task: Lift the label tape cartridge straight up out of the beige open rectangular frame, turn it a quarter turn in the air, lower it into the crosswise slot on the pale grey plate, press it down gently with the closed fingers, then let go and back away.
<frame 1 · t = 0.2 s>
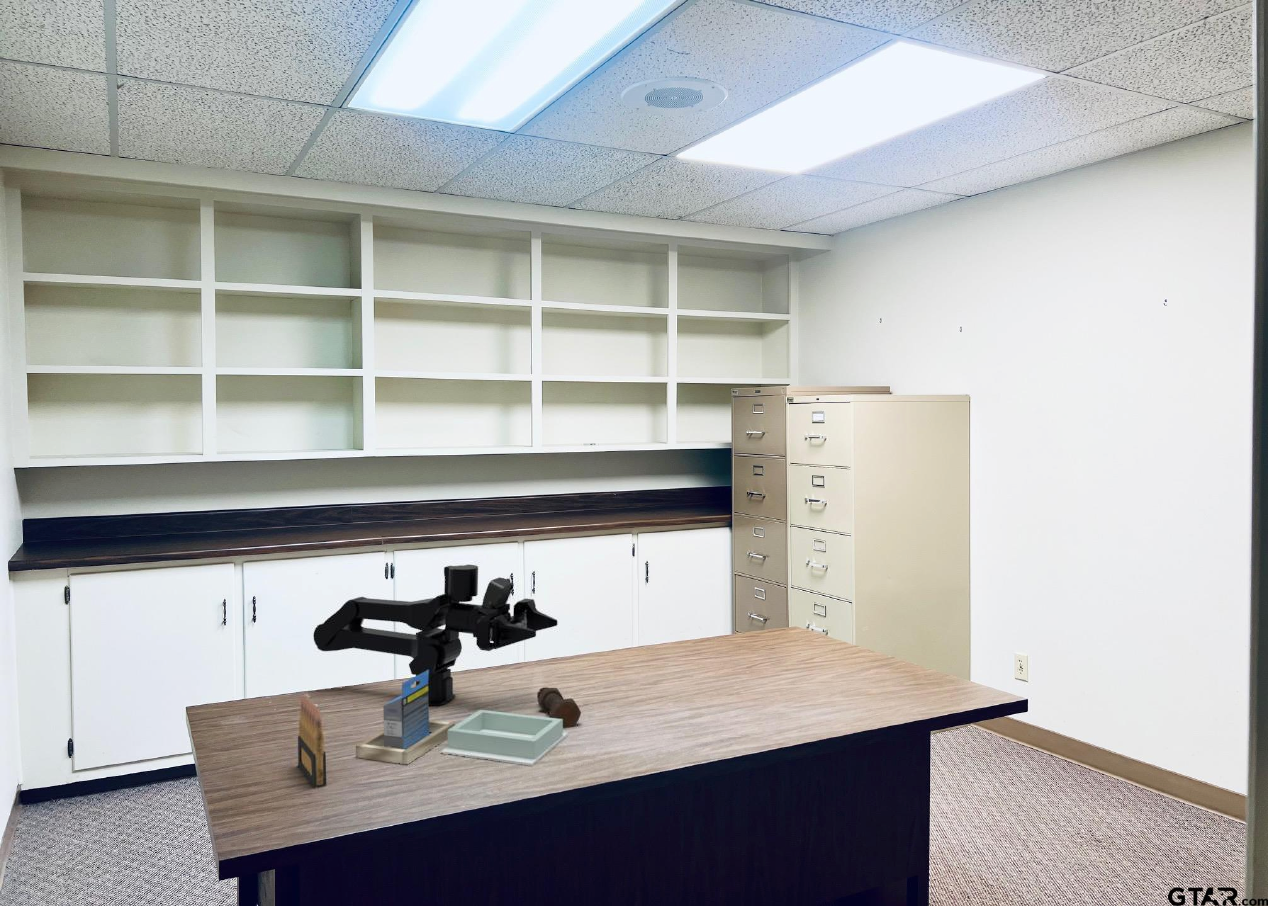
hand: (546, 628, 167), 17 cm above the table, tool horizontal, fingers open, 9 cm apart
slot plate: (506, 744, 152), on the table
bolt: (555, 717, 168), on the table
label tape cartridge: (407, 746, 152), resting in beige open rectangular frame
beige open rectangular frame: (407, 745, 152), on the table
ammunition clip: (311, 776, 139), on the table
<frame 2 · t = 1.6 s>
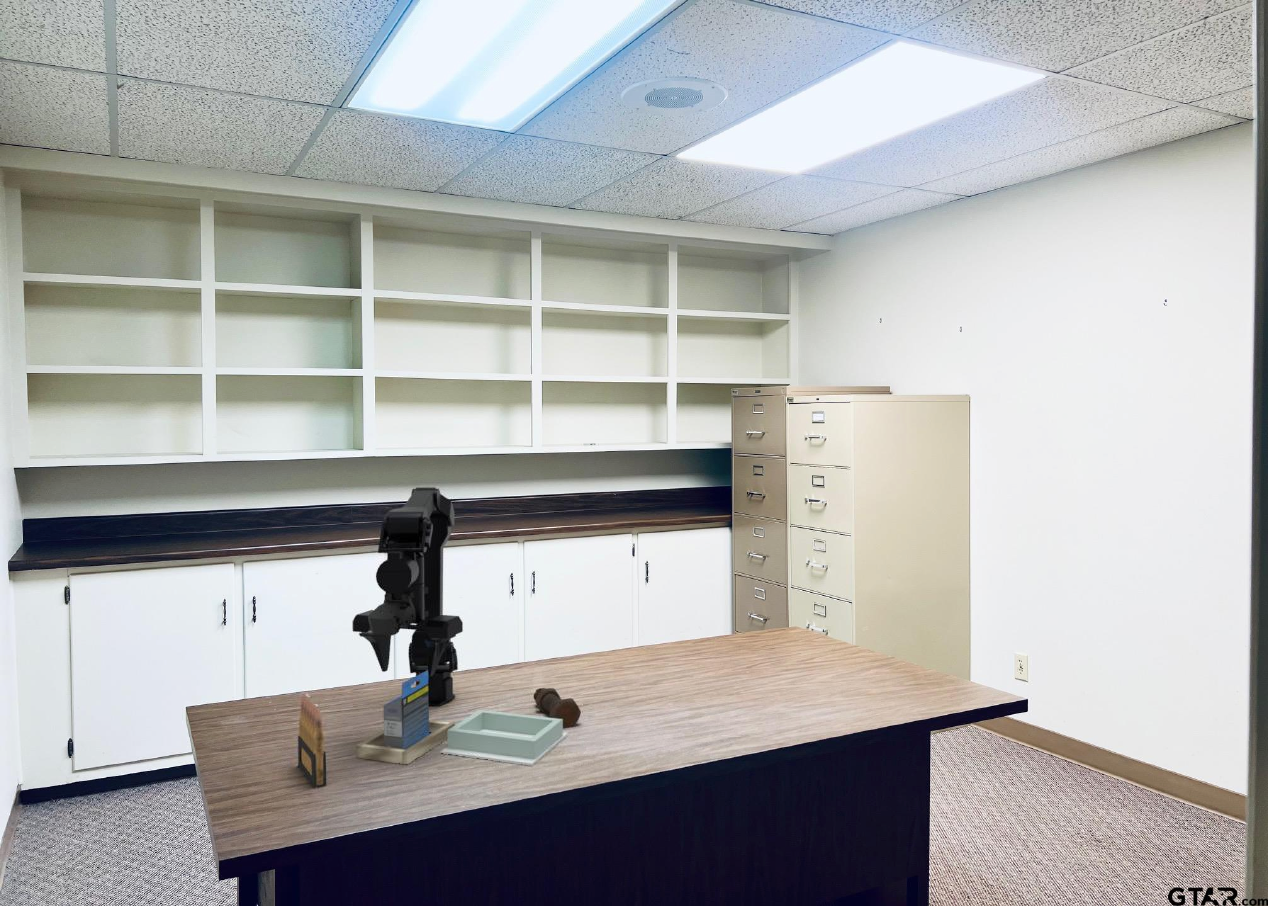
hand: (407, 673, 151), 13 cm above the table, tool pointing down, fingers open, 9 cm apart
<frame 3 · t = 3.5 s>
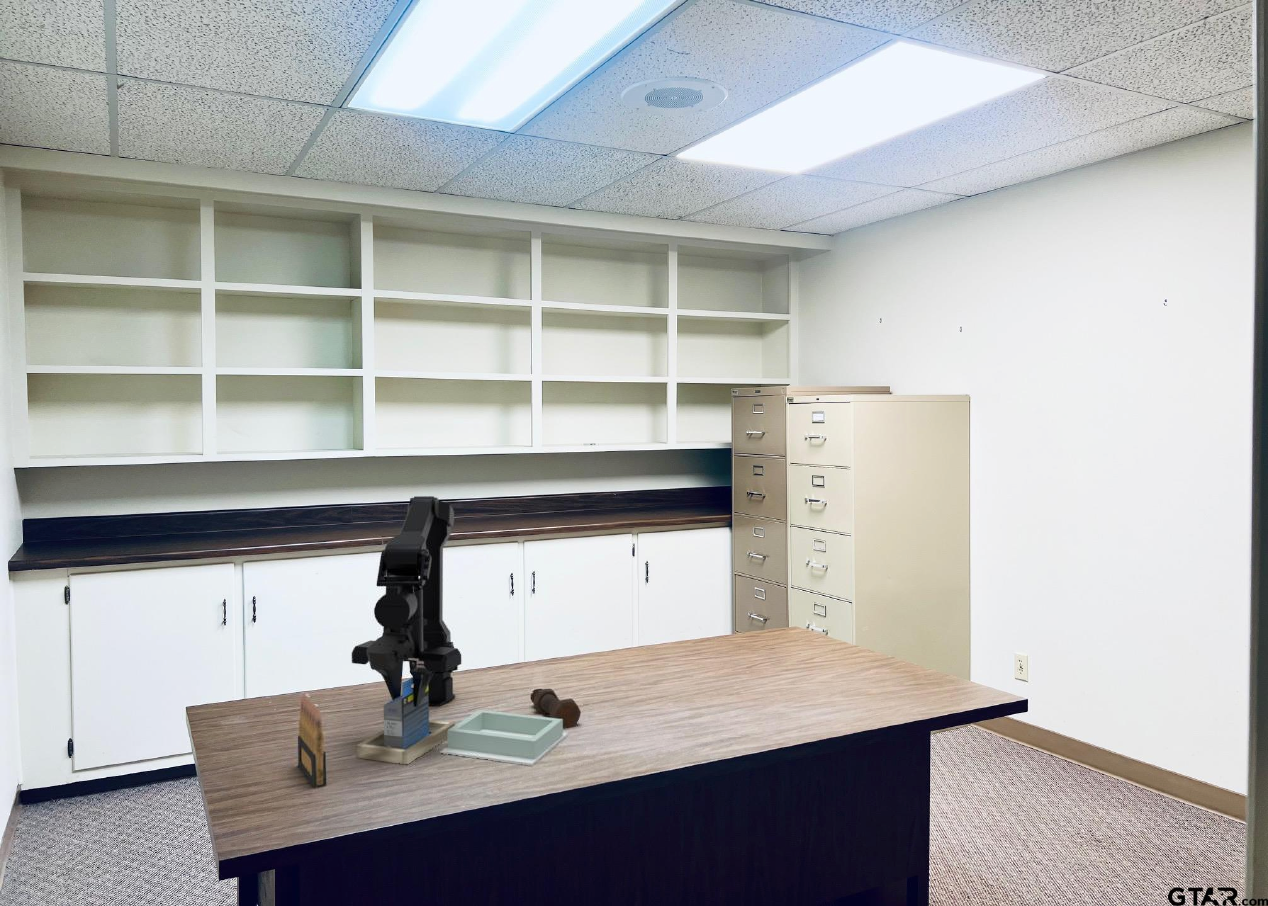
hand: (406, 705, 152), 7 cm above the table, tool pointing down, fingers closed on label tape cartridge, 4 cm apart
label tape cartridge: (407, 746, 152), resting in beige open rectangular frame, touching gripper
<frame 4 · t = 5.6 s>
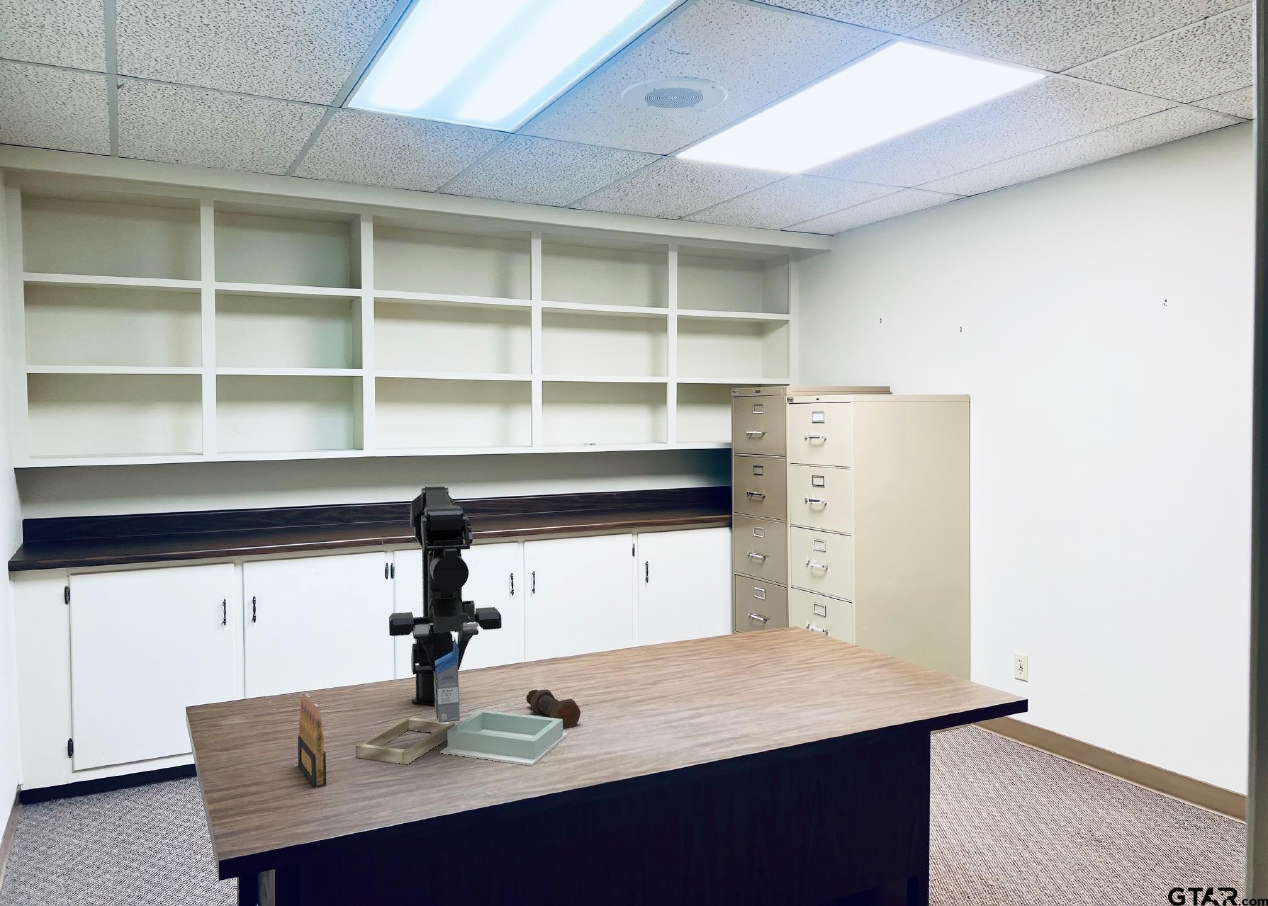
hand: (445, 670, 151), 13 cm above the table, tool pointing down, fingers closed on label tape cartridge, 4 cm apart
label tape cartridge: (447, 715, 152), point 5 cm above the table, touching gripper
when the fingers open (9 cm above the table, at t = 7.7 s): label tape cartridge stays where it is, resting on slot plate.
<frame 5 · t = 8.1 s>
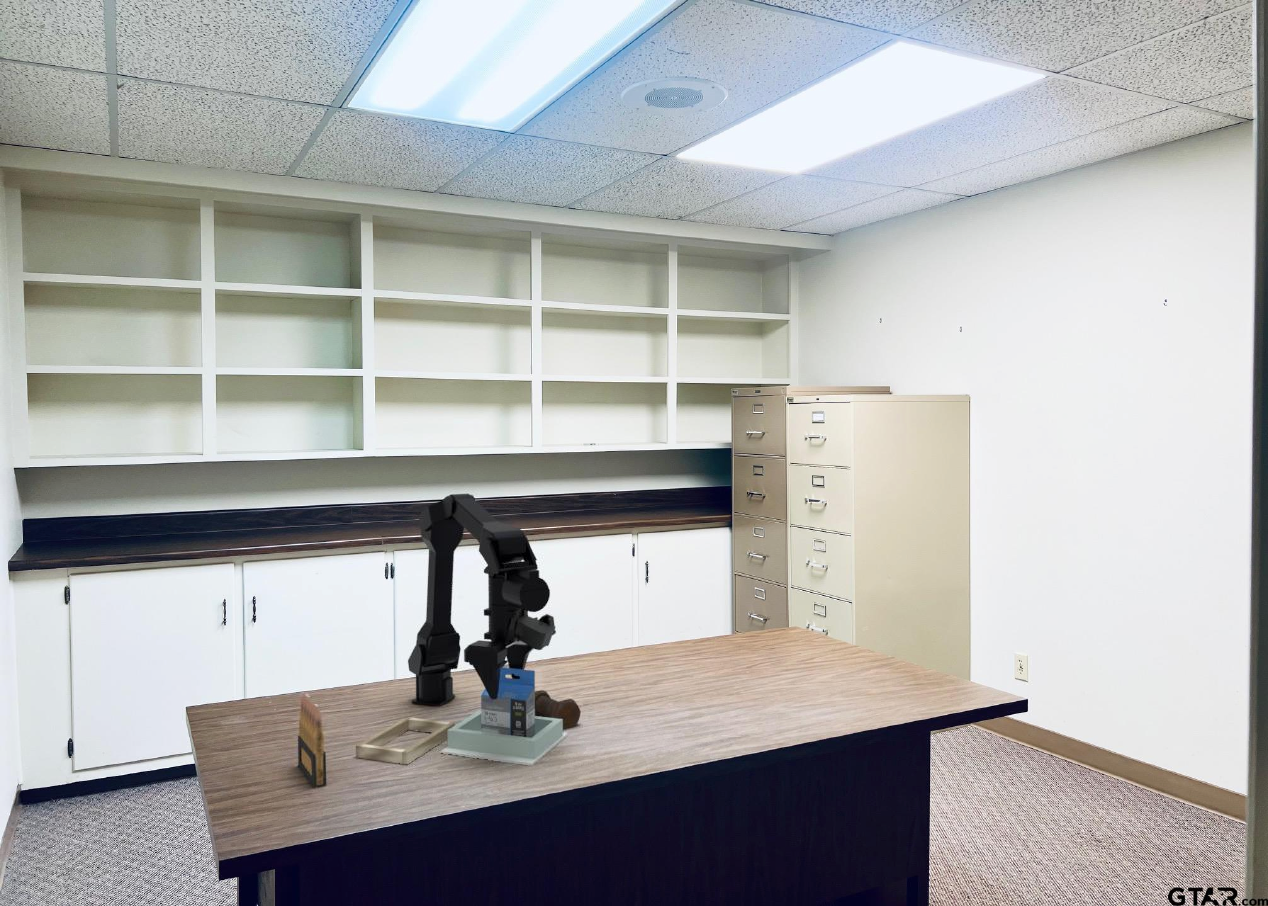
hand: (505, 691, 152), 9 cm above the table, tool pointing down, fingers open, 8 cm apart
label tape cartridge: (508, 742, 152), resting on slot plate
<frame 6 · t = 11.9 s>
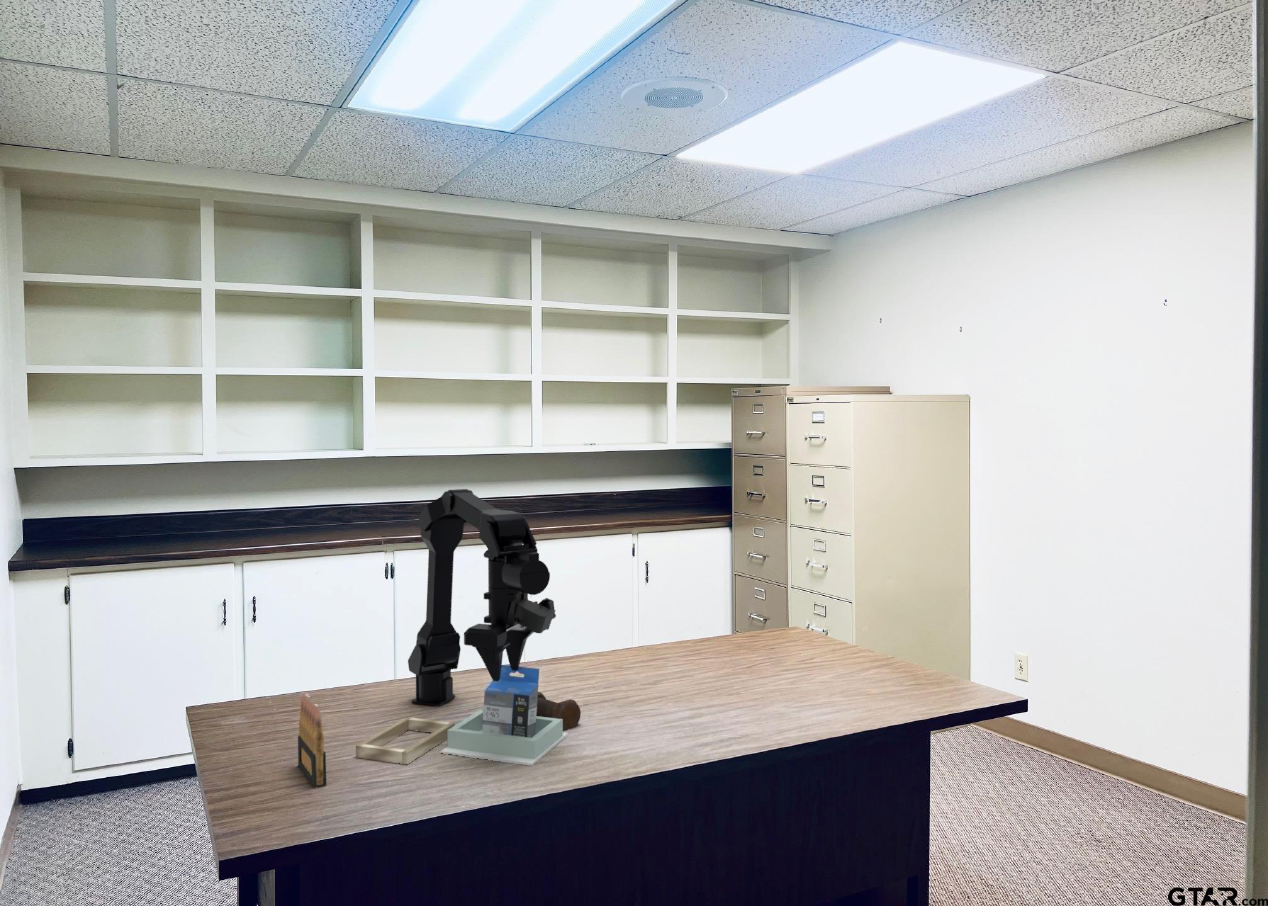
hand: (505, 675, 152), 12 cm above the table, tool pointing down, fingers open, 6 cm apart
label tape cartridge: (508, 741, 152), resting on slot plate, touching gripper
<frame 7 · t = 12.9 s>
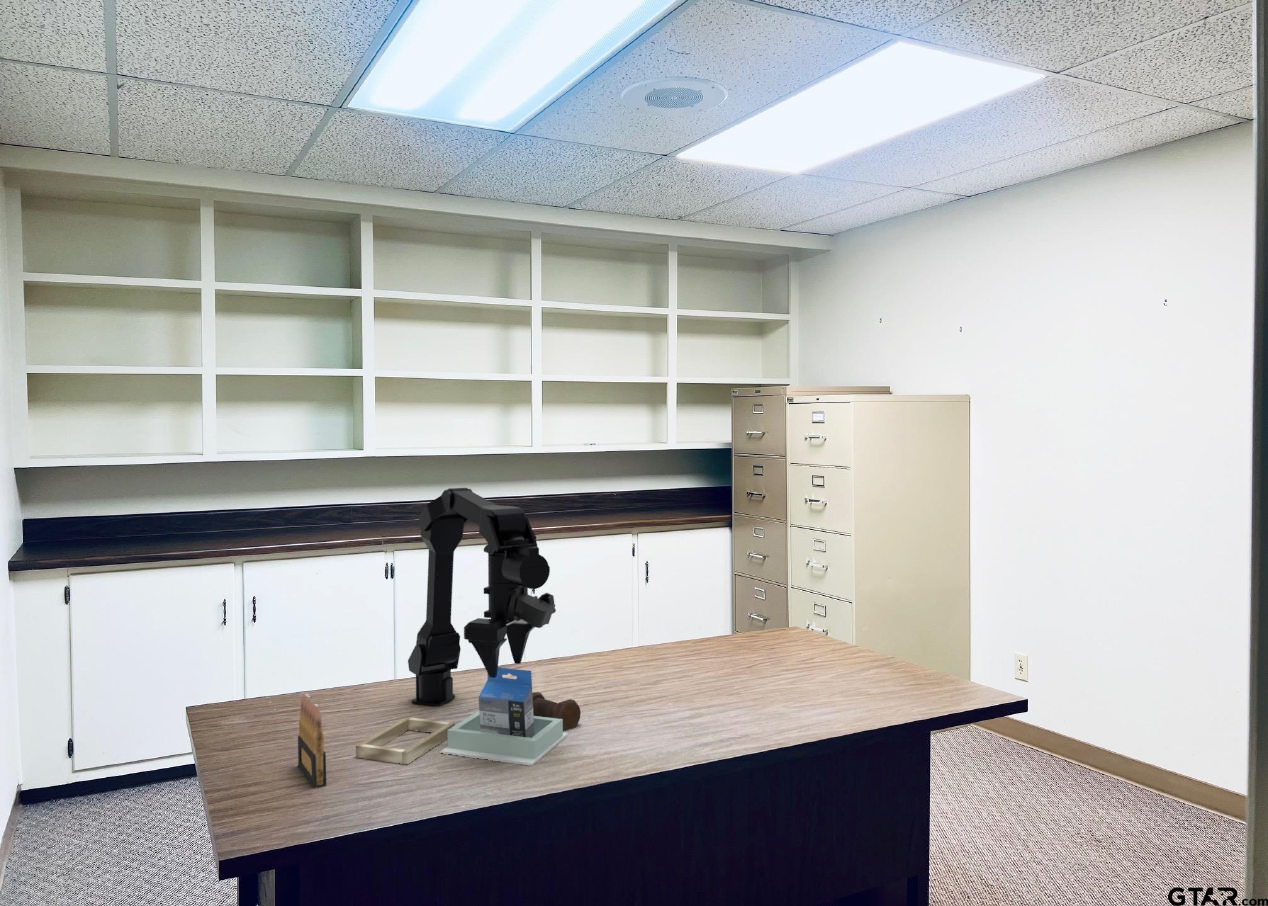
hand: (505, 670, 152), 13 cm above the table, tool pointing down, fingers open, 9 cm apart
label tape cartridge: (508, 741, 152), resting on slot plate
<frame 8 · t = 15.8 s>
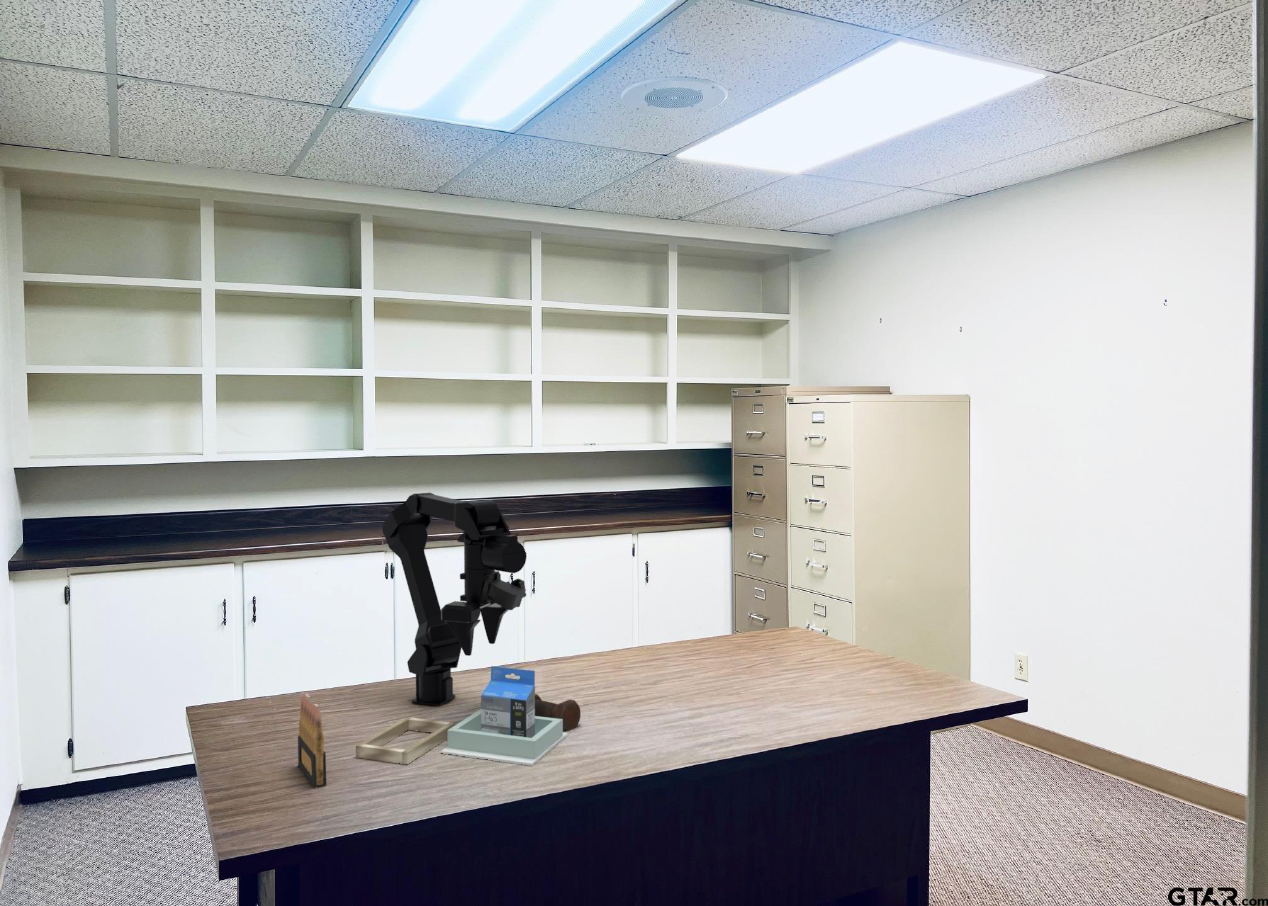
hand: (480, 649, 166), 13 cm above the table, tool pointing down, fingers open, 9 cm apart
at the end: label tape cartridge 0.4 cm off-centre on the slot plate, point 0.2 cm above the slot plate's base; label tape cartridge tilted 0°; the gripper is holding nothing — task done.
